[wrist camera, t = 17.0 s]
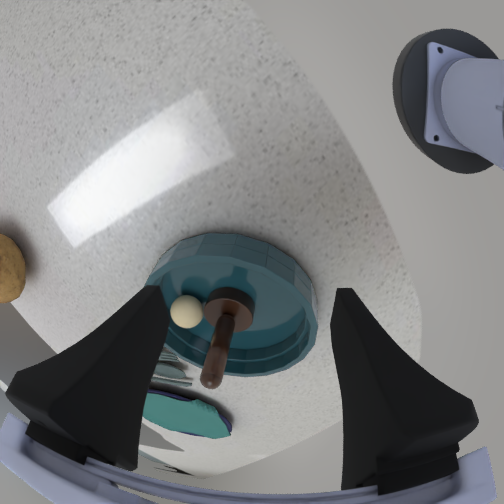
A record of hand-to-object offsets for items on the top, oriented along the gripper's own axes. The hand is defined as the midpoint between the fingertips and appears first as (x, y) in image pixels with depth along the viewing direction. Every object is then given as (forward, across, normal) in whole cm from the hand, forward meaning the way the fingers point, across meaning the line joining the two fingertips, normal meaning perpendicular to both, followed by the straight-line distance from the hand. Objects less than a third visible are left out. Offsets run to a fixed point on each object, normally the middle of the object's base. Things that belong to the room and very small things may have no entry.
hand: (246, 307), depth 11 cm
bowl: (+11, +3, +10) cm, 15 cm away
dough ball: (+9, +7, +10) cm, 15 cm away
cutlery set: (+13, +16, +34) cm, 39 cm away
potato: (+13, +34, +6) cm, 37 cm away
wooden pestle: (+10, +3, +10) cm, 15 cm away
